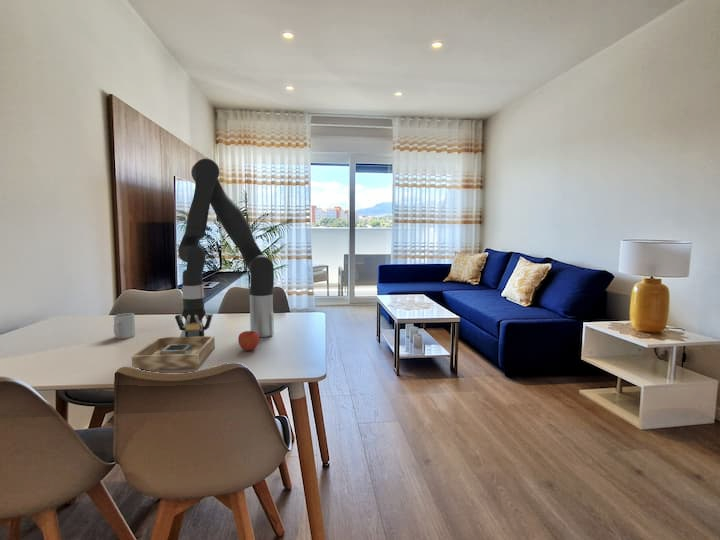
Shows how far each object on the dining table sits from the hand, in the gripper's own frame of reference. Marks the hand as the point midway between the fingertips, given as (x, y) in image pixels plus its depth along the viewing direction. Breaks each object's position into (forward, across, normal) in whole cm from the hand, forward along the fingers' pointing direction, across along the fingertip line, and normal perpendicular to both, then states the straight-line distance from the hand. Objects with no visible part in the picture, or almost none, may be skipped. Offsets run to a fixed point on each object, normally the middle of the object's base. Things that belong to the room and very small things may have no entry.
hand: (195, 340), depth 158 cm
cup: (+2, +31, -11) cm, 33 cm away
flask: (+2, +5, -11) cm, 12 cm away
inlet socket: (+1, +1, +18) cm, 18 cm away
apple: (+2, -22, +10) cm, 24 cm away
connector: (+1, 0, 0) cm, 1 cm away
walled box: (+1, +1, +18) cm, 18 cm away
